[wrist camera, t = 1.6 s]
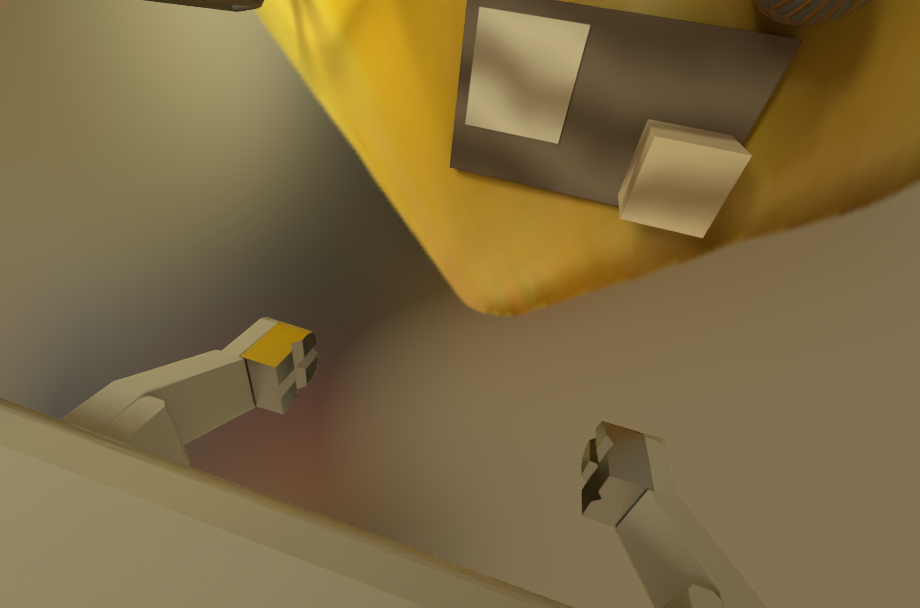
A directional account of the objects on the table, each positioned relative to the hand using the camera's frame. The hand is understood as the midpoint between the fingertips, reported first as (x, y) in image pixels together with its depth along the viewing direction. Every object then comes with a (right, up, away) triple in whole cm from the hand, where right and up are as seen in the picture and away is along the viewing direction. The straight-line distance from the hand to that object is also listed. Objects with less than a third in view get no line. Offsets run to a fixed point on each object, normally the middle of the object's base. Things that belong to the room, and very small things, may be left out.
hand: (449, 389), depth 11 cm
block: (+17, +13, +20) cm, 29 cm away
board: (+11, +18, +20) cm, 29 cm away
